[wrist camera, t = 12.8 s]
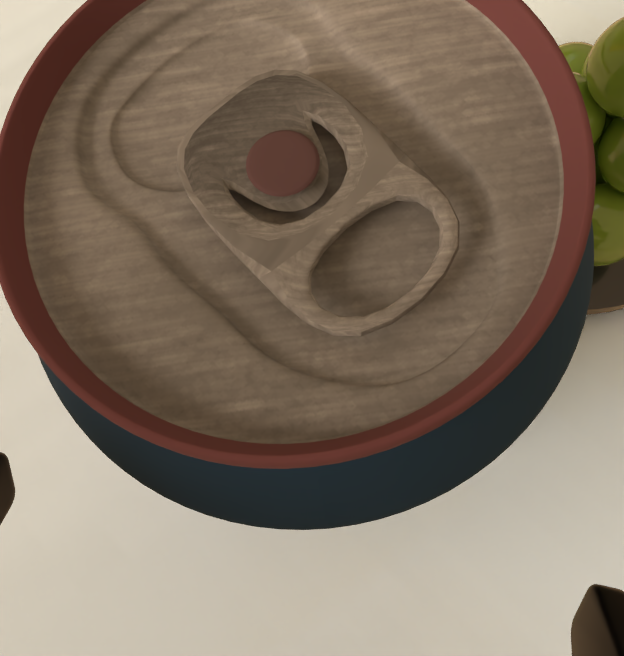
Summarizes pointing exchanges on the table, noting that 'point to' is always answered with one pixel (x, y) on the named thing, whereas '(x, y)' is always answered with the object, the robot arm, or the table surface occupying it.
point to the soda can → (300, 243)
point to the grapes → (605, 157)
